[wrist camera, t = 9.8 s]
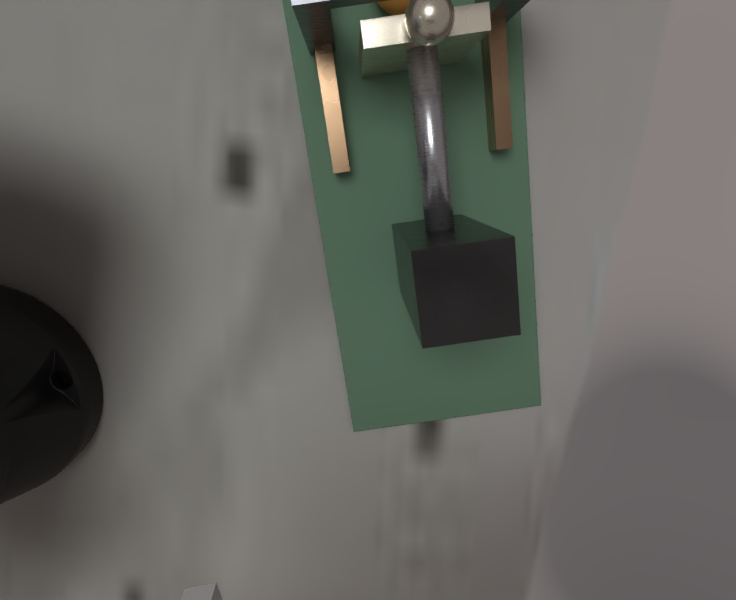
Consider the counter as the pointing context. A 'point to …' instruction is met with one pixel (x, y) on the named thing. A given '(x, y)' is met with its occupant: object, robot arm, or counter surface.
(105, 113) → the counter surface
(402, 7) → the ball
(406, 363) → the mat
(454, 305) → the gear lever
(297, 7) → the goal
